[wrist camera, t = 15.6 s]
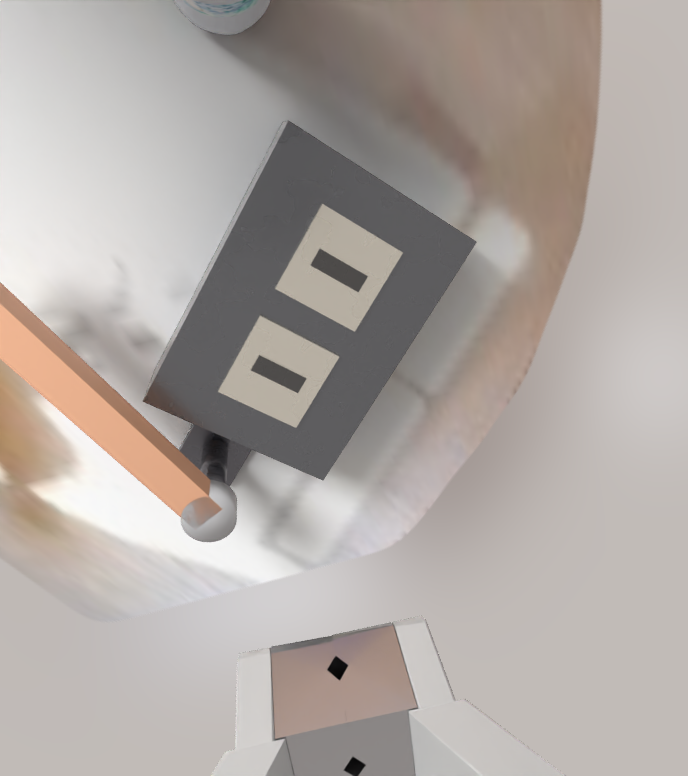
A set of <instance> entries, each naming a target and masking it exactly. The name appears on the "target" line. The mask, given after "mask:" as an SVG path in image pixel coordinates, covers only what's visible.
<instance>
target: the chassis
mask: <svg viewBox="0 0 688 776" xmlns="http://www.w3.org/2000/svg"><path fill="white" fill-rule="evenodd" d="M475 244H476V241H474V240H473V239H471V238H470V237H468V236H467V235H465V234H464V233H462V232H460V231H459V230H457V229H456V228H454V227H453V226H451V225H450V224H448V223H446V222H445V221H443V220H442V219H440V218H439V217H437V216H436V215H434V214H433V213H431V212H429V211H428V210H426V209H425V208H423V207H422V206H420V205H419V204H417V203H415V202H414V201H412V200H411V199H409V198H408V197H406V196H405V195H403V194H402V193H400V192H398V191H397V190H395V189H394V188H392V187H391V186H389V185H388V184H386V183H384V182H383V181H381V180H380V179H378V178H377V177H375V176H374V175H372V174H371V173H369V172H367V171H366V170H364V169H363V168H361V167H360V166H358V165H357V164H355V163H353V162H352V161H350V160H349V159H347V158H346V157H344V156H343V155H341V154H340V153H338V152H336V151H335V150H333V149H332V148H330V147H329V146H327V145H326V144H324V143H322V142H321V141H319V140H318V139H316V138H315V137H313V136H312V135H310V134H309V133H307V132H305V131H304V130H302V129H301V128H299V127H298V126H296V125H295V124H293V123H291V122H290V121H285V122H282V124H281V126H280V128H279V130H278V132H277V134H276V136H275V138H274V140H273V142H272V144H271V146H270V147H269V149H268V151H267V153H266V155H265V157H264V159H263V161H262V163H261V165H260V167H259V169H258V171H257V173H256V175H255V177H254V178H253V180H252V182H251V184H250V186H249V188H248V190H247V192H246V194H245V196H244V198H243V200H242V202H241V204H240V206H239V207H238V209H237V211H236V213H235V215H234V217H233V219H232V221H231V223H230V225H229V227H228V229H227V231H226V233H225V235H224V237H223V238H222V240H221V242H220V244H219V246H218V248H217V250H216V252H215V254H214V256H213V258H212V260H211V262H210V264H209V266H208V268H207V269H206V271H205V273H204V275H203V277H202V279H201V281H200V283H199V285H198V287H197V289H196V291H195V293H194V295H193V297H192V298H191V300H190V302H189V304H188V306H187V308H186V310H185V312H184V314H183V316H182V318H181V320H180V322H179V324H178V326H177V328H176V329H175V331H174V333H173V335H172V337H171V339H170V341H169V343H168V345H167V347H166V349H165V351H164V353H163V355H162V357H161V359H160V360H159V362H158V364H157V366H156V368H155V370H154V373H153V376H152V378H151V381H150V384H149V386H148V389H147V392H146V394H145V397H144V399H143V402H145V403H147V404H150V405H152V406H154V407H156V408H159V409H161V410H163V411H166V412H168V413H170V414H172V415H175V416H177V417H179V418H182V419H184V420H186V421H188V422H191V423H193V424H195V425H198V426H200V427H202V428H204V429H207V430H209V431H211V432H214V433H216V434H218V435H220V436H223V437H225V438H227V439H230V440H232V441H234V442H236V443H239V444H241V445H243V446H246V447H248V448H250V449H252V450H255V451H257V452H259V453H262V454H264V455H266V456H268V457H271V458H273V459H275V460H277V461H280V462H282V463H284V464H287V465H289V466H291V467H293V468H296V469H298V470H300V471H303V472H305V473H307V474H309V475H312V476H314V477H316V478H319V479H321V480H324V478H325V477H326V475H327V474H328V472H329V471H330V469H331V467H332V466H333V464H334V463H335V461H336V460H337V458H338V457H339V455H340V453H341V452H342V450H343V449H344V447H345V446H346V444H347V443H348V441H349V440H350V438H351V436H352V435H353V433H354V432H355V430H356V429H357V427H358V426H359V424H360V422H361V421H362V419H363V418H364V416H365V415H366V413H367V412H368V410H369V408H370V407H371V405H372V404H373V402H374V401H375V399H376V398H377V396H378V394H379V393H380V391H381V390H382V388H383V387H384V385H385V384H386V382H387V380H388V379H389V377H390V376H391V374H392V373H393V371H394V370H395V368H396V367H397V365H398V363H399V362H400V360H401V359H402V357H403V356H404V354H405V353H406V351H407V349H408V348H409V346H410V345H411V343H412V342H413V340H414V339H415V337H416V335H417V334H418V332H419V331H420V329H421V328H422V326H423V325H424V323H425V321H426V320H427V318H428V317H429V315H430V314H431V312H432V311H433V309H434V307H435V306H436V304H437V303H438V301H439V300H440V298H441V297H442V295H443V294H444V292H445V290H446V289H447V287H448V286H449V284H450V283H451V281H452V280H453V278H454V276H455V275H456V273H457V272H458V270H459V269H460V267H461V266H462V264H463V262H464V261H465V259H466V258H467V256H468V255H469V253H470V252H471V250H472V248H473V247H474V245H475Z"/></svg>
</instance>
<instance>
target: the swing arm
mask: <svg viewBox="0 0 688 776" xmlns="http://www.w3.org/2000/svg"><path fill="white" fill-rule="evenodd" d="M0 359H1V360H3V361H4V362H5V363H6V364H7V365H8V366H9V367H10V368H12V369H13V370H14V371H15V372H16V373H17V374H18V375H20V376H21V377H22V378H23V379H24V380H25V381H26V382H28V383H29V384H30V385H31V386H32V387H33V388H34V389H35V390H37V391H38V392H39V393H40V394H41V395H42V396H43V397H45V398H46V399H47V400H48V401H49V402H50V403H51V404H53V405H54V406H55V407H56V408H57V409H58V410H59V411H60V412H62V413H63V414H64V415H65V416H66V417H67V418H68V419H70V420H71V421H72V422H73V423H74V424H75V425H76V426H78V427H79V428H80V429H81V430H82V431H83V432H84V433H85V434H87V435H88V436H89V437H90V438H91V439H92V440H93V441H95V442H96V443H97V444H98V445H99V446H100V447H101V448H103V449H104V450H105V451H106V452H107V453H108V454H109V455H110V456H112V457H113V458H114V459H115V460H116V461H117V462H118V463H120V464H121V465H122V466H123V467H124V468H125V469H126V470H128V471H129V472H130V473H131V474H132V475H133V476H134V477H135V478H137V479H138V480H139V481H140V482H141V483H142V484H143V485H145V486H146V487H147V488H148V489H149V490H150V491H151V492H152V493H154V494H155V495H156V496H157V497H158V498H159V499H160V500H162V501H163V502H164V503H165V504H166V505H167V506H168V507H170V508H171V509H172V510H173V511H174V512H175V513H176V514H177V515H179V516H180V517H181V525H182V528H183V529H184V531H185V532H186V533H187V534H188V535H189V536H190V537H192V538H193V539H195V540H198V541H202V542H215V541H218V540H221V539H223V538H225V537H227V536H228V535H229V534H230V533H231V532H232V531H233V529H234V527H235V525H236V520H237V498H236V495H235V493H234V491H233V490H232V489H231V488H230V487H229V486H228V485H226V484H225V483H223V482H220V481H215V480H210V479H209V478H208V477H207V476H206V475H205V474H203V473H202V472H201V471H200V470H199V469H198V468H197V467H196V466H195V465H194V464H193V463H192V462H191V461H190V460H189V459H187V458H186V457H185V456H184V455H183V454H182V453H181V452H180V451H179V450H178V449H177V448H176V447H175V446H174V445H173V444H172V443H170V442H169V441H168V440H167V439H166V438H165V437H164V436H163V435H162V434H161V433H160V432H159V431H158V430H157V429H156V428H155V427H153V426H152V425H151V424H150V423H149V422H148V421H147V420H146V419H145V418H144V417H143V416H142V415H141V414H140V413H139V412H138V411H136V410H135V409H134V408H133V407H132V406H131V405H130V404H129V403H128V402H127V401H126V400H125V399H124V398H123V397H122V396H121V395H119V394H118V393H117V392H116V391H115V390H114V389H113V388H112V387H111V386H110V385H109V384H108V383H107V382H106V381H105V380H104V379H102V378H101V377H100V376H99V375H98V374H97V373H96V372H95V371H94V370H93V369H92V368H91V367H90V366H89V365H88V364H87V363H85V362H84V361H83V360H82V359H81V358H80V357H79V356H78V355H77V354H76V353H75V352H74V351H73V350H72V349H71V348H70V347H68V346H67V345H66V344H65V343H64V342H63V341H62V340H61V339H60V338H59V337H58V336H57V335H56V334H55V333H54V332H53V331H51V330H50V329H49V328H48V327H47V326H46V325H45V324H44V323H43V322H42V321H41V320H40V319H39V318H38V317H37V316H36V315H34V314H33V313H32V312H31V311H30V310H29V309H28V308H27V307H26V306H25V305H24V304H23V303H22V302H21V301H20V300H19V299H17V298H16V297H15V296H14V295H13V294H12V293H11V292H10V291H9V290H8V289H7V288H6V287H5V286H4V285H3V284H2V283H0Z"/></svg>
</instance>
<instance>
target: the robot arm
mask: <svg viewBox="0 0 688 776" xmlns="http://www.w3.org/2000/svg"><path fill="white" fill-rule="evenodd" d="M236 695H237V696H236V745H235V748H236V749H235V750H231V751H227V752H225V753H224V755H223V757H222V758H221V760H220V762H219V763H218V765H217V767H216V768H215V769H214V771H213V773H212V774H211V776H566V775H564V774H563V773H562V772H560V771H559V770H558V769H556V768H555V767H554V766H552V765H551V764H550V763H549V762H547V761H546V760H545V759H543V758H542V757H540V756H539V755H538V754H537V753H535V752H534V751H533V750H531V749H530V748H529V747H528V746H526V745H525V744H524V743H522V742H521V741H520V740H518V739H517V738H516V737H515V736H513V735H512V734H511V733H509V732H508V731H506V730H505V729H504V728H502V727H501V726H500V725H499V724H497V723H496V722H495V721H493V720H492V719H491V718H490V717H488V716H487V715H486V714H484V713H483V712H482V711H480V710H479V709H478V708H476V707H475V706H474V705H473V704H471V703H470V702H469V701H467V700H466V699H462V700H455V697H454V695H453V692H452V689H451V687H450V684H449V681H448V678H447V676H446V673H445V670H444V668H443V665H442V662H441V659H440V657H439V654H438V651H437V649H436V646H435V644H434V641H433V638H432V635H431V633H430V630H429V627H428V624H427V622H426V619H424V617H423V616H418V617H413V618H408V619H404V620H400V621H395V622H393V623H391V622H390V623H385V624H381V625H376V626H371V627H367V628H362V629H358V630H353V631H349V632H344V633H340V634H335V635H332V636H328V637H323V638H317V639H312V640H306V641H301V642H295V643H290V644H284V645H278V646H273V647H271V648H266V649H261V650H255V651H249V652H243V653H240V654H239V657H238V661H237V694H236Z"/></svg>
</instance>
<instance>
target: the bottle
mask: <svg viewBox="0 0 688 776" xmlns="http://www.w3.org/2000/svg"><path fill="white" fill-rule="evenodd" d="M173 1H174V2H175V4H176V5H177V7H178V8H179V9H180V11H181V12H182V13H183V14H184V15H185V16H186V17H187V18H188V19H189V20H190V21H191V22H192V23H193V24H194V25H196V26H198V27H199V28H201V29H204V30H206V31H209V32H212V33H217V34H224V35H233V34H237V33H240V32H242V31H244V30H246V29H247V28H249V27H251V26H252V25H253V24H254V23H255V22H257V21H258V20H259V19H260V18H261V17H262V15H263V14H264V13H265V11H266V10H267V8H268V6H269V3H270V0H173Z"/></svg>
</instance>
